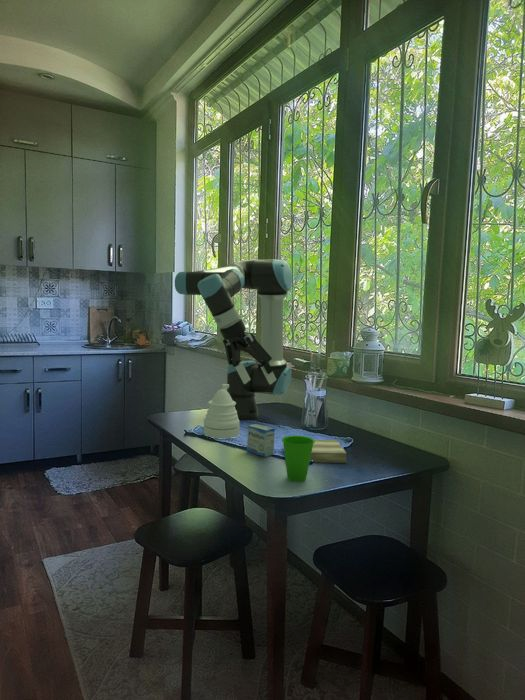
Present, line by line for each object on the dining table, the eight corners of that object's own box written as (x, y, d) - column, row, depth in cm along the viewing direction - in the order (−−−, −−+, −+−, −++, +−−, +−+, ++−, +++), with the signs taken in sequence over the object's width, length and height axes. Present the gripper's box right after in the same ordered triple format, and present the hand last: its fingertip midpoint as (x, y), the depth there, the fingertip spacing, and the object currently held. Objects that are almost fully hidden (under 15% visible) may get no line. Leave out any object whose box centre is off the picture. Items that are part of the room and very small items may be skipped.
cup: (280, 483, 131) (281, 443, 130) (280, 472, 140) (282, 434, 139) (313, 485, 131) (315, 445, 130) (312, 473, 140) (313, 436, 139)
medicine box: (246, 451, 158) (247, 425, 157) (255, 449, 161) (256, 423, 160) (265, 457, 153) (266, 430, 152) (274, 454, 156) (275, 427, 155)
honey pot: (216, 427, 186) (217, 381, 184) (245, 433, 180) (247, 384, 178) (196, 435, 174) (197, 385, 172) (227, 441, 168) (228, 390, 167)
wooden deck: (283, 447, 163) (283, 439, 163) (336, 448, 164) (337, 440, 164) (287, 461, 149) (288, 452, 149) (345, 462, 150) (346, 453, 150)
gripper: (200, 332, 158) (229, 387, 163) (244, 325, 138) (276, 389, 144) (217, 321, 162) (245, 375, 167) (262, 313, 142) (292, 375, 148)
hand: (259, 382), depth 156 cm, fingers open, 13 cm apart
